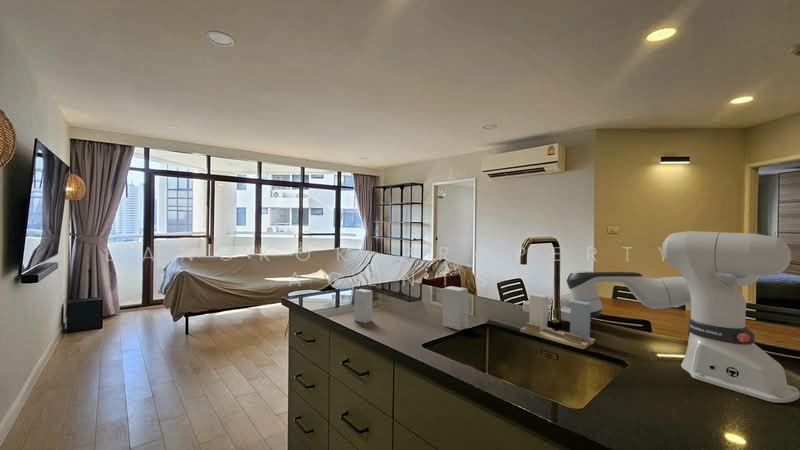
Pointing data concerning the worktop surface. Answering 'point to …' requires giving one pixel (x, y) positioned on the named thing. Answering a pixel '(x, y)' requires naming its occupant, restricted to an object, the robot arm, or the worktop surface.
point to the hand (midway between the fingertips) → (540, 314)
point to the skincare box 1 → (363, 305)
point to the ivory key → (538, 310)
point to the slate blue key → (580, 319)
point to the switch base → (557, 336)
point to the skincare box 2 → (455, 307)
